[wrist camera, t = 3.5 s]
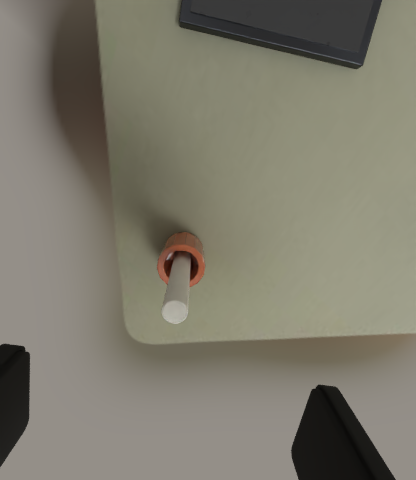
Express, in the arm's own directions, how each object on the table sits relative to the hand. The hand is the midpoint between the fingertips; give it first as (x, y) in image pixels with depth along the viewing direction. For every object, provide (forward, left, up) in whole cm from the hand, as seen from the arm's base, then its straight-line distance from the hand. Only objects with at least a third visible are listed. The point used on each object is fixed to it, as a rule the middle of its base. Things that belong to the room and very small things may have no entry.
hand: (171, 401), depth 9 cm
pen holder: (0, 0, -16) cm, 16 cm away
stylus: (0, 0, -15) cm, 15 cm away
